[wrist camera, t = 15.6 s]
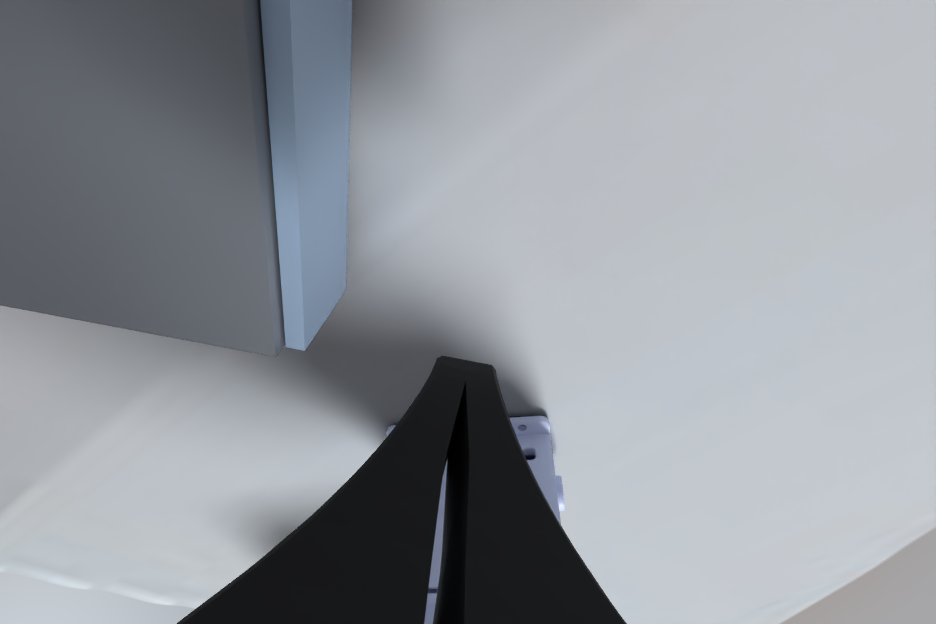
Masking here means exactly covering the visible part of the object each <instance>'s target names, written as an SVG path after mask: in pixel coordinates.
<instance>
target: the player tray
mask: <svg viewBox="0 0 936 624" xmlns="http://www.w3.org/2000/svg"><path fill="white" fill-rule="evenodd" d="M260 6H261V19H262V33H263V46H264V60H265V73H266V87H267V100H268V114H269V127H270V140H271V154H272V167H273V181H274V194H275V208H276V221H277V235H278V248H279V262H280V275H281V289H282V302H283V316H284V329H285V343H286V347H287V348H292V349H297V350H303V351H305V350H306V348H307V347H308V346H309V344H310V343H311V341H312V340H313V338H314V337H315V335H316V334H317V332H318V331H319V329H320V328H321V326H322V325H323V323H324V322H325V320H326V319H327V317H328V316H329V314H330V313H331V311H332V310H333V308H334V307H335V305H336V304H337V302H338V301H339V299H340V298H341V296H342V295H343V294H344V292H345V291H346V263H347V219H348V175H349V131H350V87H351V43H352V0H260Z"/></svg>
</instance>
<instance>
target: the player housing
mask: <svg viewBox="0 0 936 624" xmlns="http://www.w3.org/2000/svg"><path fill="white" fill-rule="evenodd" d="M0 305H2V306H7V307H12V308H18V309H23V310H28V311H34V312H39V313H44V314H50V315H55V316H60V317H66V318H71V319H76V320H82V321H87V322H92V323H97V324H103V325H108V326H113V327H119V328H124V329H129V330H135V331H140V332H145V333H151V334H156V335H161V336H166V337H172V338H177V339H182V340H188V341H193V342H198V343H204V344H209V345H214V346H220V347H225V348H230V349H235V350H241V351H246V352H251V353H257V354H262V355H267V356H273V357H276V356H277V355H278V354H279V352H280V351H281V350H282V348H283V347H284V346H285V344H286V343H285V329H284V316H283V302H282V289H281V275H280V262H279V248H278V235H277V221H276V208H275V194H274V181H273V167H272V154H271V140H270V127H269V114H268V100H267V87H266V73H265V60H264V46H263V33H262V19H261V6H260V0H0Z"/></svg>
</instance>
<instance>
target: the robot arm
mask: <svg viewBox="0 0 936 624" xmlns="http://www.w3.org/2000/svg"><path fill="white" fill-rule="evenodd" d="M520 425H525V426H520ZM386 436H387V438H386V439H385V440H384V441H383V443H382V444H381V445H380V446H379V447H378V448H377V450H376V451H375V452H374V453H373V454H372V455H371V456H370V458H369V459H368V460H367V461H366V462H365V463H364V464H363V465H362V466H361V467H360V468H359V469H358V470H357V472H356V473H355V474H354V475H353V476H352V477H351V478H350V479H349V480H348V481H347V482H346V483H345V484H344V485H343V486H342V487H341V488H340V489H339V490H338V491H337V492H336V493H335V494H334V495H333V496H332V497H331V498H330V499H329V500H328V501H327V502H325V503H324V504H323V505H322V506H321V507H320V508H319V509H318V510H317V511H316V512H315V513H314V514H313V515H312V516H310V517H309V518H308V519H307V520H306V521H305V522H304V523H303V524H301V525H300V526H299V527H298V528H297V529H295V530H294V531H293V532H292V533H291V534H290V535H288V536H287V537H286V538H285V539H284V540H283V541H281V542H280V543H279V544H278V545H277V546H275V547H274V548H273V549H272V550H271V551H270V552H268V553H267V554H266V555H265V556H264V557H263V558H261V559H260V560H259V561H258V562H256V563H255V564H254V565H253V566H251V567H250V568H249V569H248V570H246V571H245V572H244V573H243V574H241V575H240V576H239V577H237V578H236V579H235V580H233V581H232V582H231V583H229V584H228V585H227V586H225V587H224V588H223V589H221V590H220V591H219V592H218V593H216V594H215V595H214V596H212V597H211V598H210V599H208V600H207V601H206V602H204V603H203V604H202V605H200V606H199V607H198V608H196V609H195V610H194V611H192V612H191V613H190V614H188V615H187V616H186V617H185V618H183V619H182V620H181V621H179V622H178V623H177V624H626V622H625V621H624V620H623V618H622V617H621V616H620V614H619V613H618V611H617V610H616V609H615V607H614V606H613V605H612V603H611V602H610V601H609V599H608V598H607V596H606V595H605V593H604V592H603V590H602V589H601V587H600V586H599V584H598V583H597V581H596V580H595V578H594V577H593V575H592V574H591V572H590V571H589V569H588V568H587V566H586V565H585V563H584V562H583V560H582V559H581V557H580V556H579V554H578V553H577V551H576V550H575V548H574V546H573V545H572V543H571V542H570V540H569V538H568V537H567V535H566V533H565V531H564V530H563V528H562V526H561V521H560V513H559V511H564V510H565V504H564V494H563V486H562V479H561V476H555V469H554V461H553V452H552V443H551V435H550V425H549V420H548V419H547V418H546V417H544V416H529V417H513V418H509V415H508V413H507V410H506V407H505V404H504V401H503V398H502V394H501V391H500V387H499V384H498V380H497V376H496V370H495V369H494V367H493V366H492V365H488V364H483V363H477V362H472V361H467V360H462V359H457V358H451V357H446V356H441V357H439V358H437V360H436V363H435V366H434V368H433V370H432V372H431V374H430V376H429V378H428V380H427V381H426V383H425V385H424V386H423V388H422V390H421V391H420V393H419V394H418V396H417V397H416V399H415V400H414V402H413V403H412V405H411V406H410V407H409V409H408V410H407V412H406V413H405V415H404V416H403V417H402V419H401V420H400V421H399V423H398V424H397V425H392V426H390V427H388V429H387V432H386Z"/></svg>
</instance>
